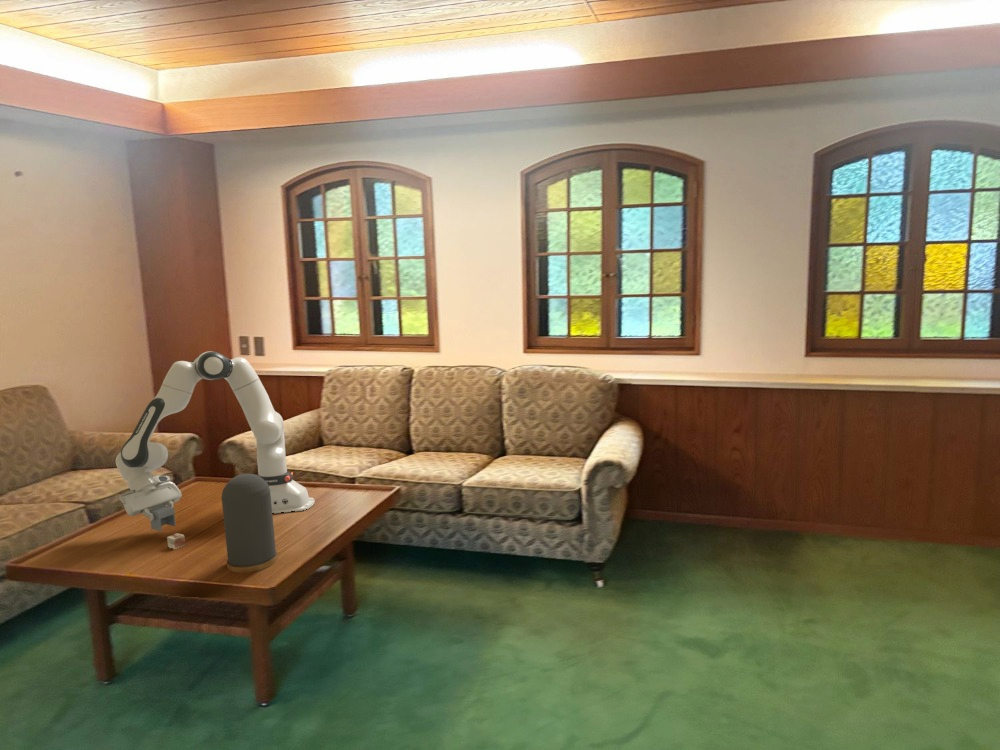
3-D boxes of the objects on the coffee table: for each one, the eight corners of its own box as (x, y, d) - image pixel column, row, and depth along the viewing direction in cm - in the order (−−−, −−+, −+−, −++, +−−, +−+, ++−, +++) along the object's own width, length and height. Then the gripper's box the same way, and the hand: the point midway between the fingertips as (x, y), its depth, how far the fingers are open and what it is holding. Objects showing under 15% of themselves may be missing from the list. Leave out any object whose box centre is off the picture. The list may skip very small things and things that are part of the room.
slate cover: (166, 523, 260) (164, 505, 259) (175, 525, 257) (173, 507, 256) (151, 528, 255) (149, 510, 254) (160, 531, 252) (158, 512, 251)
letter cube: (178, 543, 249) (177, 532, 248) (185, 545, 247) (184, 534, 246) (168, 547, 246) (166, 536, 245) (175, 549, 244) (174, 538, 243)
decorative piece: (286, 553, 236) (278, 467, 232) (263, 573, 221) (254, 482, 216) (243, 552, 239) (234, 467, 234) (217, 571, 224) (208, 481, 219)
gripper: (120, 489, 248) (139, 520, 245) (172, 474, 265) (191, 503, 262) (114, 500, 251) (133, 530, 248) (166, 484, 268) (184, 512, 265)
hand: (163, 516), depth 255 cm, fingers closed on slate cover, 6 cm apart
